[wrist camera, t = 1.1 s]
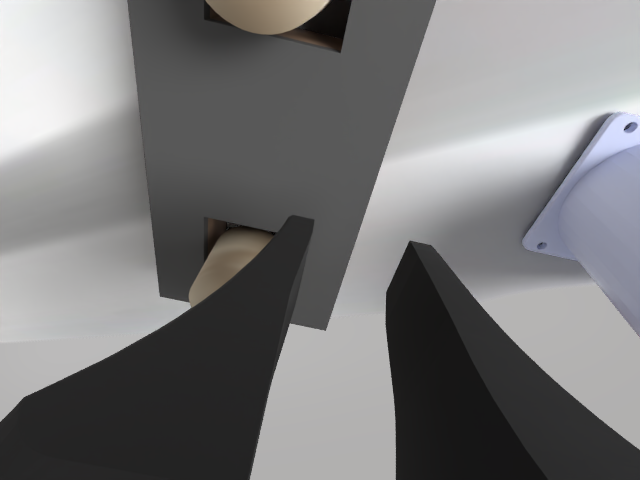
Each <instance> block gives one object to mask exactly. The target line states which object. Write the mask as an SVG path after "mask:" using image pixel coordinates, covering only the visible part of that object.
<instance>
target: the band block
mask: <svg viewBox="0 0 640 480" xmlns="http://www.w3.org/2000/svg"><path fill="white" fill-rule="evenodd" d="M435 2H436V0H352V2H351V7H350V12H349V16H348V21H347V26H346V31H345V35H344V39H341V38H337V37H333V36H329V35H325V34H320V33H316V32H312V31H308V30H304V29H300V28H295V29H292V30H290V31H287V32H284V33H280V34H272V35H266V34H257V33H251V32H248V31H245V30H242V29H240V28H238V27H236V26H234V25H232V24H231V23H229V22H228V21H226V20H225V19H223V18H222V17H221V16H220V15H219V14H218V13H216V12H215V11H214V10H213V9H212V8H211V6H210V5H209V4H208V3H207V2H206V1H205V0H128V9H129V18H130V27H131V36H132V45H133V55H134V64H135V73H136V82H137V91H138V100H139V110H140V119H141V128H142V137H143V146H144V155H145V165H146V174H147V183H148V192H149V201H150V210H151V220H152V229H153V238H154V247H155V256H156V265H157V274H158V284H159V293H160V297H165V298H170V299H175V300H180V301H185V302H189V291H190V289H191V287H192V285H193V283H194V281H195V279H196V278H197V276H198V274H199V272H200V270H201V269H202V267H203V265H204V263H205V261H206V260H207V258H208V256H209V254H210V252H211V251H212V249H213V247H214V245H215V243H216V242H217V240H218V238H219V237H220V236H221V235H222V234H223V233H224V232H225V231H226V227H227V222H230V223H235V224H239V225H244V226H249V227H253V228H258V229H262V230H267V231H271V232H276V233H277V232H278V231H279V230H280V229H281V227H282V226H283V224H284V223H285V222H286V220H287V218H288V217H289V216H291V215H296V216H301V217H305V218H310V219H314V226H313V232H312V237H311V241H310V245H309V250H308V254H307V258H306V262H305V267H304V271H303V275H302V279H301V284H300V288H299V292H298V296H297V301H296V305H295V308H294V311H293V315H292V318H291V321H290V323H291V324H296V325H301V326H306V327H311V328H315V329H320V330H325V331H326V328H327V325H328V322H329V319H330V316H331V313H332V310H333V307H334V304H335V301H336V298H337V295H338V292H339V289H340V286H341V283H342V280H343V277H344V274H345V271H346V268H347V265H348V262H349V259H350V256H351V253H352V250H353V247H354V244H355V242H356V239H357V236H358V233H359V230H360V227H361V224H362V221H363V218H364V215H365V212H366V209H367V206H368V203H369V200H370V197H371V194H372V191H373V188H374V185H375V182H376V179H377V176H378V173H379V170H380V167H381V164H382V161H383V158H384V155H385V152H386V149H387V146H388V143H389V140H390V137H391V134H392V131H393V128H394V125H395V122H396V119H397V116H398V113H399V110H400V107H401V104H402V101H403V98H404V95H405V92H406V89H407V86H408V83H409V80H410V77H411V74H412V71H413V68H414V65H415V62H416V59H417V56H418V53H419V50H420V47H421V44H422V41H423V38H424V35H425V32H426V29H427V26H428V23H429V20H430V17H431V14H432V11H433V8H434V5H435Z"/></svg>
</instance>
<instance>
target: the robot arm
mask: <svg viewBox="0 0 640 480" xmlns="http://www.w3.org/2000/svg"><path fill="white" fill-rule="evenodd" d="M631 122H632V125H631V126H630V127H629V128H628V129H626V130H624V128H625V126H626V125H627V124H628V123H631ZM313 226H314V219H310V218H305V217H301V216H296V215H291V216H289V217H288V218H287V220H286V222H285V223H284V224H283V226H282V227H281V229H280V230H279V231H278V232H277V233H276V235H275V236H274V237H273V238H272V239H271V241H270V242H269V243H268V244H267V245H266V246H265V247H264V248H263V249H262V250H261V251H260V252H259V253H258V254H257V255H256V256H255V257H254V258H253V259H252V260H251V261H250V262H249V263H248V264H247V265H246V266H244V267H243V268H242V269H241V270H240V271H239V272H238V273H237V274H236V275H235V276H233V277H232V278H231V279H230V280H229V281H227V282H226V283H225V284H224V285H222V286H221V287H220V288H219V289H217V290H216V291H215V292H213V293H212V294H211V295H209V296H208V297H207V298H205V299H204V300H203V301H201V302H200V303H198V304H197V305H195V306H194V307H192V308H191V309H189V310H188V311H186V312H185V313H183V314H182V315H180V316H179V317H177V318H176V319H174V320H173V321H171V322H169V323H168V324H166V325H165V326H163V327H161V328H160V329H158V330H156V331H154V332H153V333H151V334H149V335H147V336H145V337H144V338H142V339H140V340H138V341H137V342H135V343H133V344H131V345H130V346H128V347H126V348H124V349H123V350H120V351H119V352H117V353H115V354H113V355H111V356H109V357H108V358H105V359H104V360H102V361H100V362H98V363H96V364H93V365H91V366H89V367H87V368H85V369H83V370H81V371H79V372H77V373H75V374H72V375H70V376H68V377H66V378H64V379H62V380H60V381H58V382H56V383H54V384H52V385H50V386H47V387H45V388H43V389H41V390H39V391H37V392H34V393H32V394H30V395H28V396H26V397H24V398H23V399H22V400H21V401H20V402H19V403H18V404H17V406H16V407H15V408H14V409H13V410H12V411H11V412H10V413H9V414H8V415H7V416H6V417H5V418H4V419H3V420H2V421H1V422H0V480H250V475H251V471H252V466H253V462H254V457H255V453H256V448H257V443H258V439H259V435H260V430H261V426H262V421H263V416H264V411H265V407H266V403H267V398H268V394H269V390H270V386H271V382H272V379H273V375H274V371H275V369H276V366H277V362H278V359H279V356H280V353H281V350H282V346H283V343H284V340H285V337H286V334H287V330H288V327H289V324H290V321H291V318H292V315H293V311H294V308H295V305H296V301H297V296H298V292H299V288H300V284H301V279H302V275H303V271H304V267H305V262H306V258H307V254H308V250H309V245H310V241H311V237H312V232H313ZM541 242H543V243H542V244H541V245H538V244H539V243H541ZM522 244H523V246H524V247H525V249H527V250H530V251H534V252H539V253H543V254H548V255H552V256H557V257H561V258H566V259H570V260H575V261H579V262H580V264H581V265H582V266H583V267H584V269H585V270H586V271H587V272H588V274H589V275H590V276H591V277H592V279H593V280H594V281H595V282H596V284H597V285H598V286H599V287H600V289H601V290H602V291H603V292H604V294H605V295H606V296H607V297H608V298H609V300H610V301H611V302H612V304H613V305H614V306H615V307H616V308H617V310H618V311H619V312H620V314H621V315H622V316H623V317H624V319H625V320H626V321H627V322H628V323H629V325H630V326H631V327H632V329H633V330H634V331H635V332H636V334H637V335H638V336H639V337H640V116H638V115H634V114H630V113H626V112H617V113H614V114H612V115H611V116H609V117H608V118H607V120H606V121H605V122H604V124H603V125H602V126H601V128H600V129H599V131H598V132H597V134H596V135H595V136H594V138H593V139H592V141H591V142H590V144H589V145H588V147H587V148H586V149H585V151H584V152H583V154H582V155H581V157H580V158H579V159H578V161H577V162H576V164H575V165H574V167H573V168H572V169H571V171H570V172H569V174H568V175H567V177H566V178H565V179H564V181H563V182H562V184H561V185H560V187H559V188H558V189H557V191H556V192H555V194H554V195H553V197H552V198H551V199H550V201H549V202H548V204H547V205H546V207H545V208H544V209H543V211H542V212H541V214H540V215H539V217H538V218H537V219H536V221H535V222H534V224H533V225H532V227H531V228H530V229H529V231H528V232H527V234H526V235H525V237H524V238H523V240H522ZM386 333H387V342H388V351H389V359H390V368H391V377H392V385H393V394H394V404H395V420H396V480H640V450H639V449H638V448H636V447H635V446H633V445H632V444H631V443H630V442H628V441H627V440H626V439H624V438H623V437H622V436H621V435H619V434H618V433H617V432H616V431H614V430H613V429H612V428H610V427H609V426H608V425H607V424H605V423H604V422H603V421H602V420H600V419H599V418H598V417H597V416H595V415H594V414H593V413H592V412H591V411H589V410H588V409H587V408H586V407H585V406H583V405H582V404H581V403H580V402H579V401H578V400H576V399H575V398H574V397H573V396H572V395H570V394H569V393H568V392H567V391H566V390H565V389H563V388H562V387H561V386H560V385H559V384H558V383H557V382H555V381H554V380H553V379H552V378H551V377H550V376H549V375H548V374H546V373H545V372H544V371H543V370H542V369H541V368H540V367H539V366H538V365H537V364H536V363H535V362H534V361H533V360H532V359H531V358H529V356H528V355H527V354H525V352H524V351H522V350H521V349H520V348H519V347H518V345H516V343H515V342H514V341H513V340H512V339H511V338H510V337H509V336H508V335H507V334H506V333H505V332H504V331H503V330H502V329H501V328H500V327H499V325H498V324H497V323H496V322H495V321H494V320H493V319H492V318H491V317H490V316H489V314H488V313H487V312H486V311H485V310H484V309H483V308H482V306H481V305H480V304H479V303H478V302H477V301H476V299H475V298H474V297H473V296H472V295H471V293H470V292H469V291H468V290H467V289H466V287H465V286H464V285H463V284H462V282H461V281H460V280H459V279H458V277H457V276H456V275H455V274H454V272H453V271H452V270H451V269H450V267H449V266H448V265H447V264H446V262H445V261H444V260H443V259H442V257H441V256H440V255H439V254H438V253H437V251H436V250H435V249H434V248H433V247H432V246H431V245H427V244H423V243H418V242H414V241H409V243H408V246H407V248H406V250H405V252H404V254H403V257H402V259H401V261H400V263H399V266H398V268H397V270H396V272H395V274H394V277H393V279H392V281H391V283H390V285H389V288H388V290H387V292H386Z"/></svg>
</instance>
